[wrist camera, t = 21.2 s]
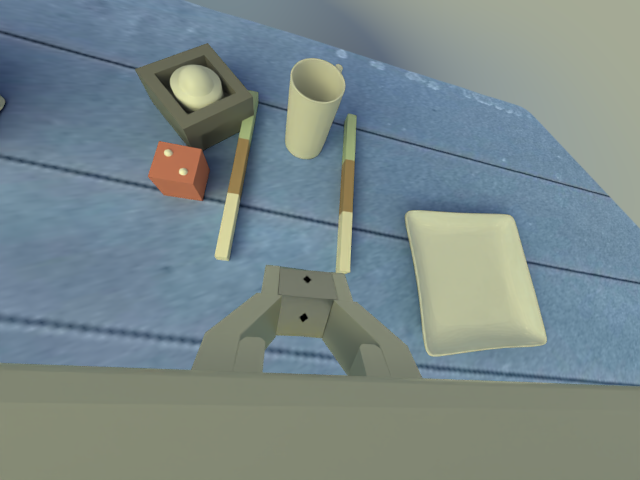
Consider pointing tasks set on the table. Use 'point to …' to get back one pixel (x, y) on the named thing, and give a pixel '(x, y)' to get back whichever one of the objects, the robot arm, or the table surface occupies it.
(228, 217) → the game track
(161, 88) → the dome housing
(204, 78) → the pop dome
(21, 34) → the table surface
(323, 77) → the mug
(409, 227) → the salad plate
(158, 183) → the die
